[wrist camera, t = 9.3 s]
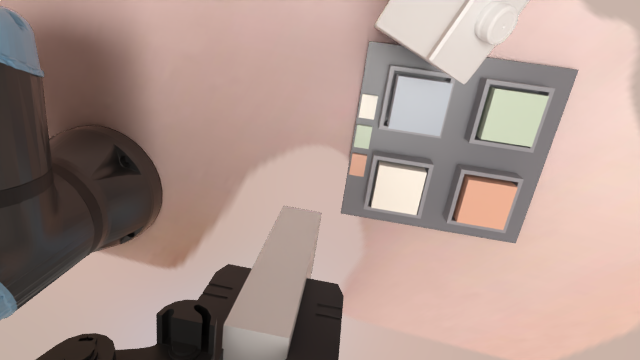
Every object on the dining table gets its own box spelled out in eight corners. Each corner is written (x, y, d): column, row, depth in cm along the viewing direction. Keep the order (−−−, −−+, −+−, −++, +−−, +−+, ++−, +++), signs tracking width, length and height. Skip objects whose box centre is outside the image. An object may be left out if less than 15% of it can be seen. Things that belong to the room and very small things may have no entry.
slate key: (387, 123, 37) (388, 128, 35) (396, 74, 35) (398, 75, 33) (435, 130, 37) (439, 136, 34) (447, 81, 35) (453, 83, 33)
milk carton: (373, 26, 37) (375, 24, 20) (416, -45, 35) (463, -119, 17) (431, 65, 38) (482, 95, 20) (477, -2, 35) (583, -31, 18)
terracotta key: (451, 212, 41) (456, 222, 39) (463, 172, 39) (468, 179, 37) (495, 219, 41) (503, 230, 38) (509, 179, 39) (517, 187, 37)
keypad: (341, 209, 44) (339, 220, 41) (369, 41, 37) (369, 40, 35) (512, 239, 43) (522, 252, 40) (573, 69, 36) (590, 71, 33)
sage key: (473, 133, 38) (480, 139, 36) (487, 86, 36) (495, 88, 34) (522, 141, 37) (531, 147, 35) (537, 93, 36) (549, 96, 34)
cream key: (371, 198, 42) (371, 207, 39) (378, 158, 40) (379, 165, 38) (413, 206, 41) (416, 215, 39) (423, 165, 40) (426, 172, 37)
